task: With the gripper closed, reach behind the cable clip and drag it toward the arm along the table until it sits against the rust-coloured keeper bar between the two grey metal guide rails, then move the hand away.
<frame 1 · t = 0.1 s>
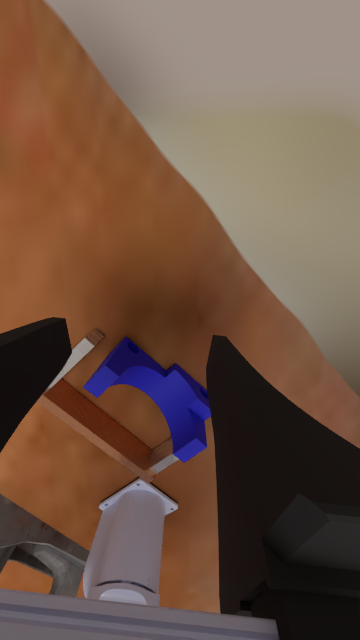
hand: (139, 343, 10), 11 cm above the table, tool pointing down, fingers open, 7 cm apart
keeper: (127, 402, 24), on the table
hand plane: (15, 518, 33), on the table
cable clip: (162, 373, 23), on the table
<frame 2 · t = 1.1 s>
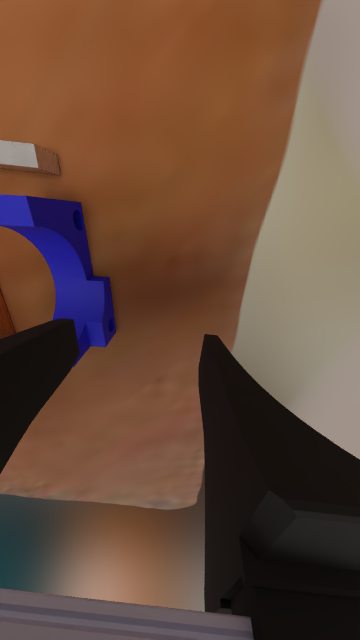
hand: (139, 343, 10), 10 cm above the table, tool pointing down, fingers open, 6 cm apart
keeper: (27, 268, 18), on the table
cable clip: (87, 274, 19), on the table
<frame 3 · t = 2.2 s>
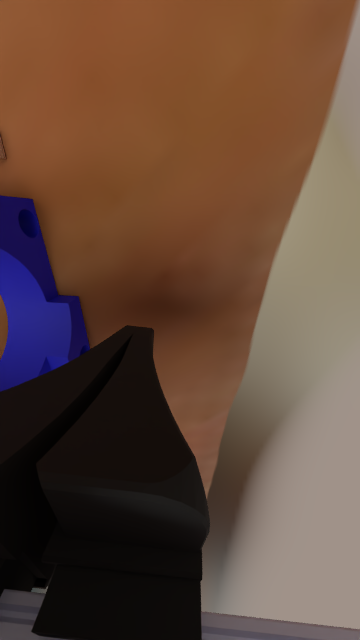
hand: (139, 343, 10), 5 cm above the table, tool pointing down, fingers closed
cable clip: (51, 292, 15), on the table
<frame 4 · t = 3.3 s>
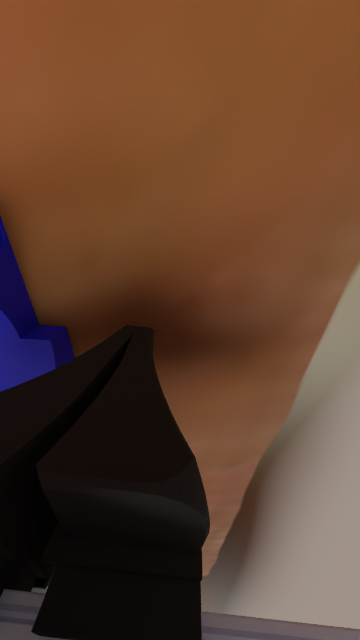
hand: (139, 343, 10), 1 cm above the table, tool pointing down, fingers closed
cable clip: (30, 321, 11), on the table
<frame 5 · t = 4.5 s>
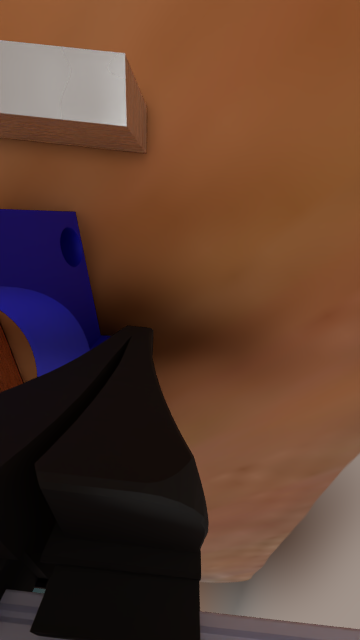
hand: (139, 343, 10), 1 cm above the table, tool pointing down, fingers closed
keeper: (59, 323, 11), on the table
cable clip: (90, 331, 11), on the table, touching gripper
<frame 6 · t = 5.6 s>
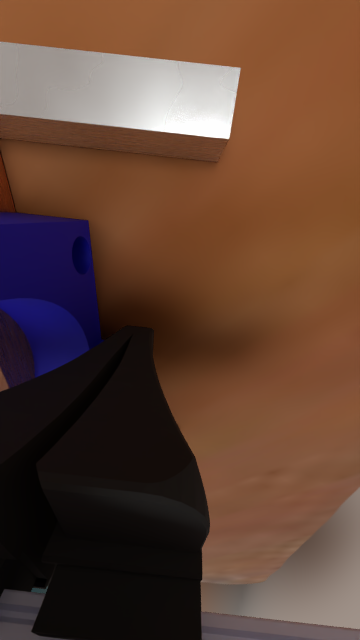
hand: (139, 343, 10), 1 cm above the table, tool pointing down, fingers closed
keeper: (106, 329, 11), on the table
cable clip: (90, 334, 11), on the table, touching keeper
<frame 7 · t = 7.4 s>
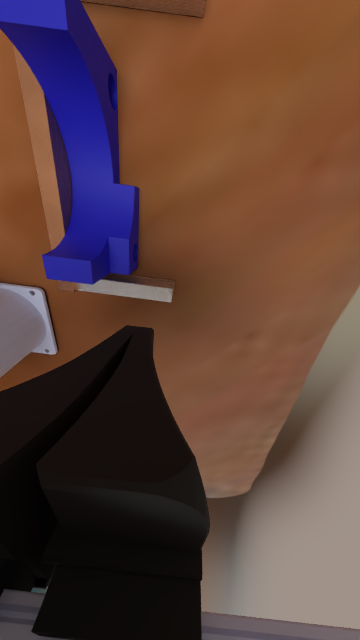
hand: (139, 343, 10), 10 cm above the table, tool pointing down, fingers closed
keeper: (124, 173, 15), on the table
cable clip: (111, 185, 15), on the table
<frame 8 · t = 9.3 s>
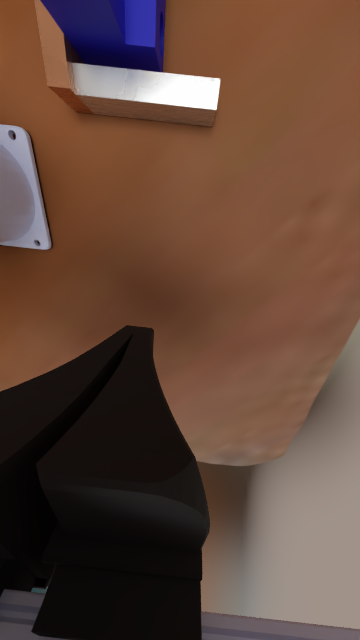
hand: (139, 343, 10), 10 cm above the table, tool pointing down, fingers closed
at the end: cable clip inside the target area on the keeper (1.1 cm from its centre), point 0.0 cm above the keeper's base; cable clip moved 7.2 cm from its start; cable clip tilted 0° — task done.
